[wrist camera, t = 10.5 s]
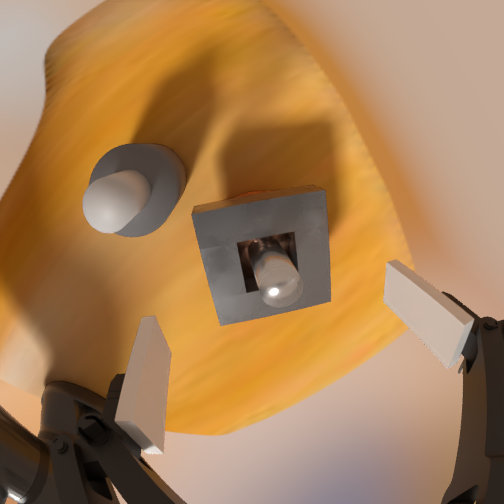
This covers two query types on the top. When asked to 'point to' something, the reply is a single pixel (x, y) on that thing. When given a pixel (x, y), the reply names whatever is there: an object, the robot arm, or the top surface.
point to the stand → (134, 189)
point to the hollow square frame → (257, 226)
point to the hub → (271, 267)
